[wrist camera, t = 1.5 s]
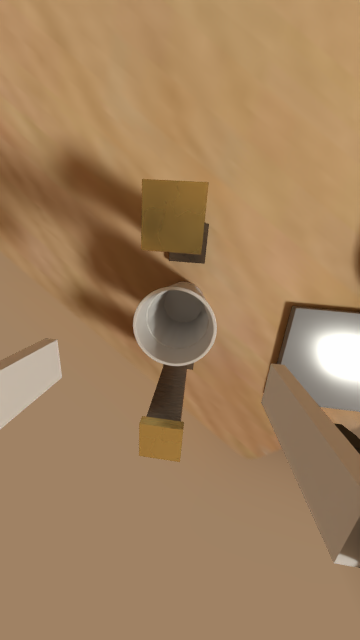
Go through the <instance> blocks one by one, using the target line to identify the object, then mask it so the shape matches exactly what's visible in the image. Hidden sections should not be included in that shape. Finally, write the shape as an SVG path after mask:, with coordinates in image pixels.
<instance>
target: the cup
mask: <svg viewBox="0 0 360 640" xmlns="http://www.w3.org/2000/svg"><path fill="white" fill-rule="evenodd" d="M133 331H134V335H135V338H136V341H137V343H138V344H139V346H140V348H141V349H142V350H143V351H144V352H145V353H146V354H147V355H148V356H149V357H150V358H152V359H153V360H155V361H157V362H159V363H162V364H165V365H170V366H184V365H188V364H191V363H194V362H196V361H198V360H199V359H201V358H202V357H203V356H205V355H206V354H207V352H208V351H209V350H210V349H211V347H212V345H213V343H214V341H215V337H216V332H217V324H216V319H215V315H214V313H213V311H212V309H211V307H210V305H209V304H208V303H207V301H206V300H205V298H204V296H203V294H202V292H201V290H200V289H199V288H198V287H197V286H196V285H194V284H192V283H189V282H178V283H175V284H173V285H171V286H168V287H164V288H160V289H157V290H155V291H153V292H151V293H150V294H148V295H147V296H146V297H145V298H144V299H143V300H142V301H141V302H140V304H139V305H138V307H137V309H136V311H135V314H134V319H133Z"/></svg>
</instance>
